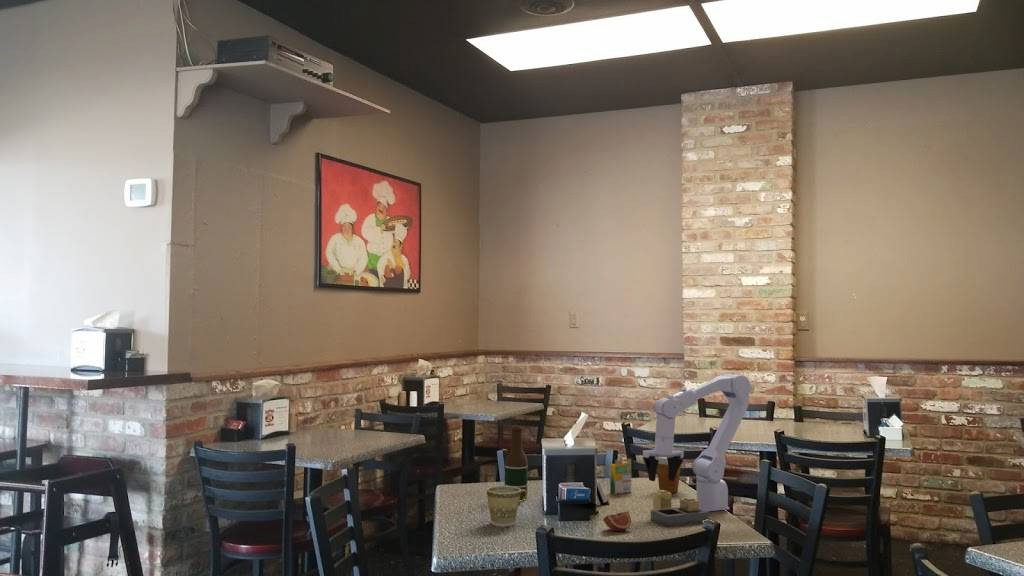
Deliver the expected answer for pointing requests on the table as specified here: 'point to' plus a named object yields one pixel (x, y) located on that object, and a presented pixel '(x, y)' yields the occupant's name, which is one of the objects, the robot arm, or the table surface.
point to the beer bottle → (516, 463)
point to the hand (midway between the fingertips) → (661, 480)
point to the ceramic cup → (504, 504)
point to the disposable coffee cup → (666, 476)
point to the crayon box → (620, 476)
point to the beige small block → (661, 499)
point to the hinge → (601, 495)
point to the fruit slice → (618, 521)
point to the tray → (680, 514)
